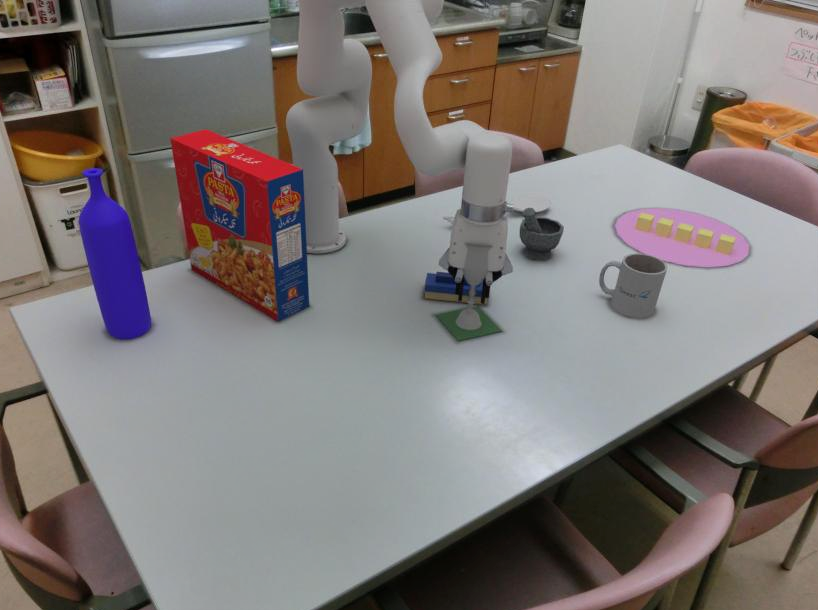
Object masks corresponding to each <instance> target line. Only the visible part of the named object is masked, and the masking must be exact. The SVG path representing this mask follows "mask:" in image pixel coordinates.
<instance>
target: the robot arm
mask: <svg viewBox="0 0 818 610" xmlns="http://www.w3.org/2000/svg"><path fill="white" fill-rule="evenodd" d="M444 2H445V0H297V4H298V13H299V23H298V25H299V26H298V37H297V38H298V39H297V40H298V41H297V56H296V57H297V58H296V81H297V84H298V87H299V89H300V90H301V91H302V93H304V94H305V95H307V96H310V97H312V98H307V99H303V100H301V101H299V102H296V103H295V104H293V105H292V106H291V107H290V108H289V110H288V111H287V113H286V118H285V127H286V131H287V134H288V135H287V137H288V139H289V145H290V148H291V155H292V156H291V157H292V163H293V164H292V165H294V166H296V167H298V168H301V169H303V179H304V201H305V223H306V244H307V254H314V255H315V254H316V255H317V254H329V253H333V252H336V251H338V250H340V249H342V248H343V247H344V246H345V244H346V243H347V237H346V236H347V235H346V233H344V232H343V231H342V230H341V229H340V220H339V219H340V216H339V213H340V212H339V210H340V208H339V167H338V163H337V160H336V158H335V156H334V155H333V153H332V152H331V150H330V146H332V145H335V144H336V143H340V142H344V141H347V140H350V139H353V138H355V137H358V136H359V135H360V134H361V133H362V132H363V130H364V128H365V126H366V122H367V116H368V109H369V102H370V93H371V86H372V79H373V65H372V58H371V55H370V52H369V50H368V49H367V47H366V46H365V44H363V43H362V42H361V41H360V40H358V39H354V38H344V37H345V33H346V32H345V30H346V26H345V25H346V24H345V19H344V16H343V13H342V10H341V9H349V8H351V9H352V8H361V7H365V8H366V10H367V13H368V16H369V18H370V20H371V22H372V25H373V27H374V29H375V32H376V33H377V36H378V38H379V40H380V43H381V45H382V47H383V49H384V51H385V53H386V57H387V58H388V60H389V61H388V62H389V63H390V65H391V67H392V69H393V72H394V74H395V77H396V87H395V92H394V96H393V97H394V98H393V117H394V123H395V124H394V125H395V129H396V133H397V135H398V138H399V140H400V143H401V144H402V146H403V149H404V151H405V153H406V156H407V157H408V159H409V160H410V162H411V164H412V165H413V167H414V168H415V169H416V170H417V171H418V172H419V173H421V174H422V175H423V176H427V177H436V176H441V175H443V174H446V173H449V172H451V171H454V170H458V169H464V173H463V183H462V192H461V193H462V194H461V202H460V208H458V209H457V210H456V212H455V215H454V217H455V218H454V222H453V224H452V228H451V235H450V240H449V247H448V248H447V250H446V251H445V252H443V254H442V255H441V257H440V258H439V259H438V266H439V267H441V268H442V269H444V270H446V271H447V273H450V274H451V275H452V277H453V278H454V279H455V281H456V290H455V295H459V297H458V301H462V295H463V286H464V277H463V276H464V275H463V273H464V272H463V269H462V268H464V264H465V260H466V256H467V251H468V248H467V247H466V245H465V244H467V245H469V246H473V247H478V248H487V247H491V246H493V247H492V248H491V249H490V250H489V251H488V270H487V271H488V272H487V274H486V276H485V278H484V279H483V285H482V293H481V303H482V304H481V305H485V304H484V303H485V298H487V299H489V298H490V293H491V286H492V285H493V284H494V282H497V281H498V280H500V279H501V278H502V277H503V276H506V275H509V274H511V273H513V271H514V270H513V269H514V268H513V265H512V262H511V260H510V258H509V256H508V255H507V243H508V242H507V241H508V228H509V227H508V224H509V223H508V222H509V221H508V215H507V214H508V213H513V212H514V210H513V205H512V204H510V202H509V203H508V201H506V200H507V192H508V185H509V178H510V172H511V165H512V159H513V150H514V148H513V147H514V146H513V143H512V141H511V139H510V138H508V137H507V136H505V135H502V134H499V133H495V132H490V131H488V130H487V129H485V128H484V127H482V126H481V125H479V124H478V123H476V122H474V121H472V120H468V119H461V120H457V121H453V122H450V123H446V124H442V125H439V126H436V127H435V126H434V127H433V126H432V123H431V121H430V119H429V117H428V115H427V111H426V109H425V104H424V89H425V85H426V83H427V80H428V78H429V77H430V76H432V74H433V73H434V72H436V71H437V69H438V68H439V67H440V65H441V64H442V61H443V52H442V50H441V48H440V46H439V44H438V41H437V38H436V37H435V34H434V31H433V29H432V27H431V24H430V23H431V22H433V21H435V20H437V18H438V17H440V15H441V14H442V11H443V8H444Z"/></svg>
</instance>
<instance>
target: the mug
mask: <svg viewBox="0 0 818 610" xmlns="http://www.w3.org/2000/svg"><path fill="white" fill-rule="evenodd" d="M610 267H615V268H617V269H618V270H619V272H618V276H617V280H616V283H615V287H614V288H609V287H607V285H606V284H605V275H606V271H607V270H608V268H610ZM667 271H668V265H667V262H665V261H662V260H661V259H659V258H657V257H654V256H651V255H647V254H643V253H641V252H639V253H636V252H635V253H630V254H627V255H625V256H624V257H623V258H622V261H621V262H620V261H617V260H612V261H609V262H606V263H605V265H604V266H603V267H602V268H601V270H600V272H599V273H600V274H599V277H598V282H599V288H600V289H601V291H602V292H603V293H604V294H607V295H609V296H612V299H611V301H610V302H611V304H610V305H611V308H612V309H613V310H614V311H615V312H616V313H618V314H621V315H622V316H625V317H628V318H633V319H645V318H649V317H651V316H652V315H653V314H654V312H655V309H656V306H657V302H658V300H659V296H660V294H661V293H660V292H661V290H662V287H663V284H664V281H665V278H666V275H667Z"/></svg>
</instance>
